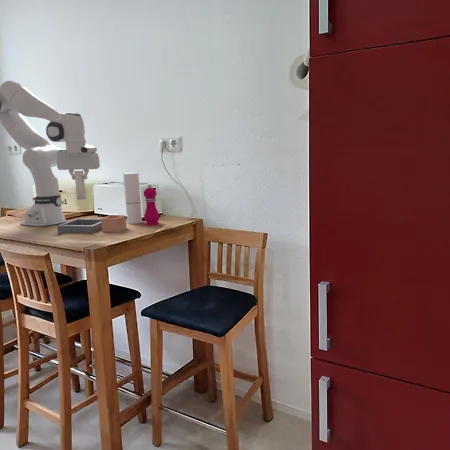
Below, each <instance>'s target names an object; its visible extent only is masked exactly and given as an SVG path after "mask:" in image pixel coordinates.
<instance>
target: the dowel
mask: <svg viewBox="0 0 450 450" xmlns="http://www.w3.org/2000/svg"><path fill="white" fill-rule="evenodd" d="M73 173H74V174H75V180H74V183H75V191H76V199H77V200H78V201H79V200H82V201H83V200H86V199H87V195H86V194H87V192H86V184H85V183H86V181H85V179H82V178H83V177H82V176H83V175H84V173H85V172H84V170H83V169H80V170H74V172H73Z"/></svg>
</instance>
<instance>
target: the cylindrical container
mask: <svg viewBox="0 0 450 450" xmlns="http://www.w3.org/2000/svg"><path fill="white" fill-rule="evenodd" d="M122 174H123V175H122V176H123V184H124V185H123V187H124V197H125V208H126V224H132V225H135V224H140V223H143V215H142V202H141V191H140V189H141V188H140V177H139V176H140V173H139V172H136V171H135V172H134V171H133V172H132V171H131V172H124V173H122Z"/></svg>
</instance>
